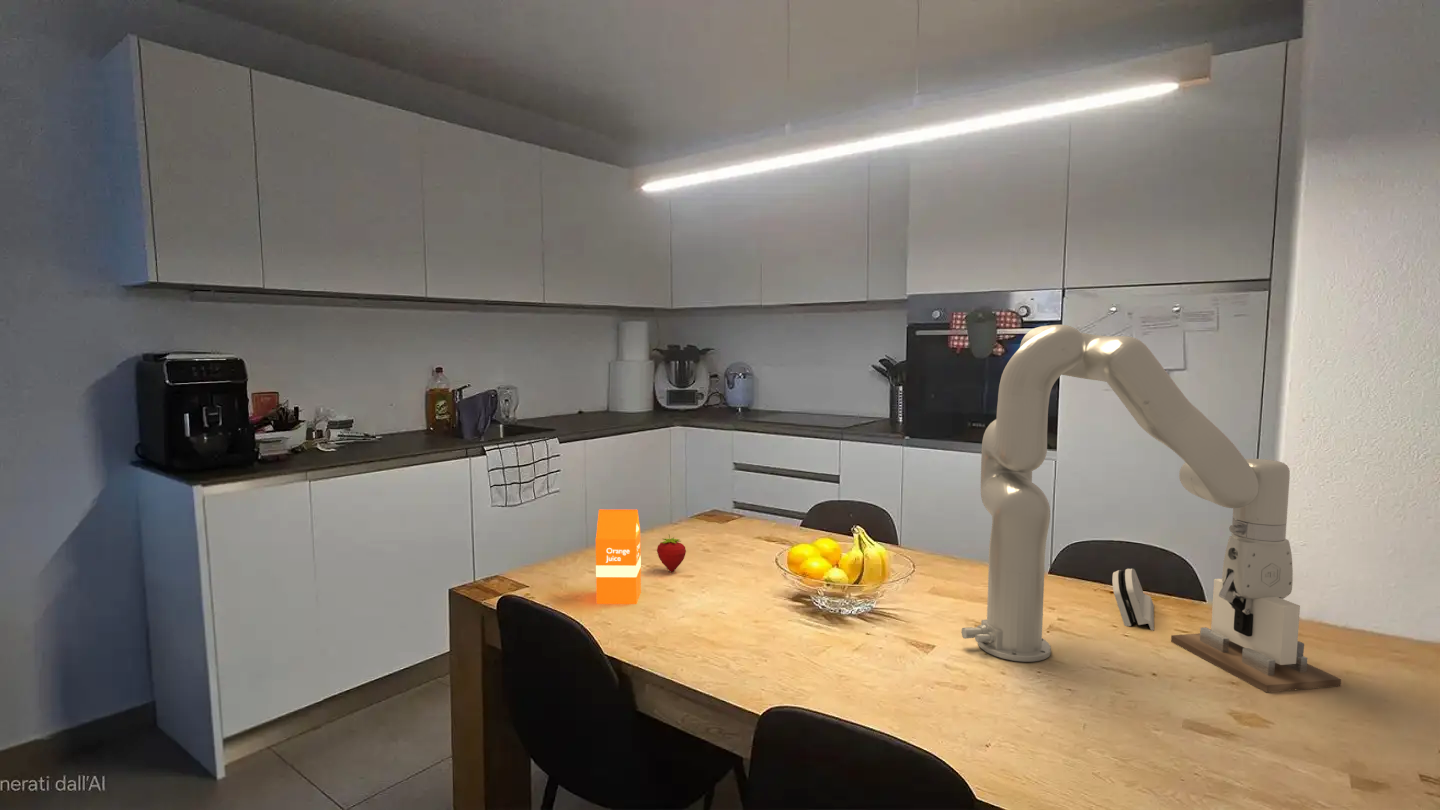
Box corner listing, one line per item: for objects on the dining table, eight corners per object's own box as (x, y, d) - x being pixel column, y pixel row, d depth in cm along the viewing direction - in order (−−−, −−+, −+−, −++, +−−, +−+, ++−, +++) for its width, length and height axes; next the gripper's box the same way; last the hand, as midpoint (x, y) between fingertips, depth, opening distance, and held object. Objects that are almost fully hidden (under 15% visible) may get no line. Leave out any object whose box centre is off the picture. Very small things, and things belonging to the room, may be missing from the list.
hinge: (1153, 631, 140) (1136, 581, 141) (1127, 634, 143) (1110, 585, 144) (1153, 604, 155) (1137, 559, 156) (1129, 607, 157) (1114, 563, 158)
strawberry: (679, 577, 173) (679, 537, 172) (652, 573, 176) (651, 533, 175) (690, 570, 178) (690, 531, 177) (664, 566, 181) (663, 527, 181)
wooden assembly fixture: (1266, 692, 116) (1268, 661, 115) (1171, 641, 135) (1172, 614, 135) (1340, 686, 118) (1343, 655, 117) (1236, 636, 138) (1237, 610, 137)
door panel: (1280, 665, 119) (1284, 606, 118) (1211, 631, 133) (1214, 579, 132) (1296, 663, 120) (1300, 605, 119) (1225, 630, 134) (1228, 578, 133)
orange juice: (636, 604, 155) (635, 513, 154) (596, 604, 156) (594, 513, 154) (641, 591, 163) (640, 505, 162) (602, 591, 163) (601, 505, 162)
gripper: (1235, 538, 120) (1229, 644, 121) (1320, 534, 122) (1312, 638, 124) (1199, 527, 127) (1193, 627, 129) (1279, 523, 130) (1273, 621, 131)
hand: (1252, 631), depth 126 cm, fingers closed on door panel, 3 cm apart
